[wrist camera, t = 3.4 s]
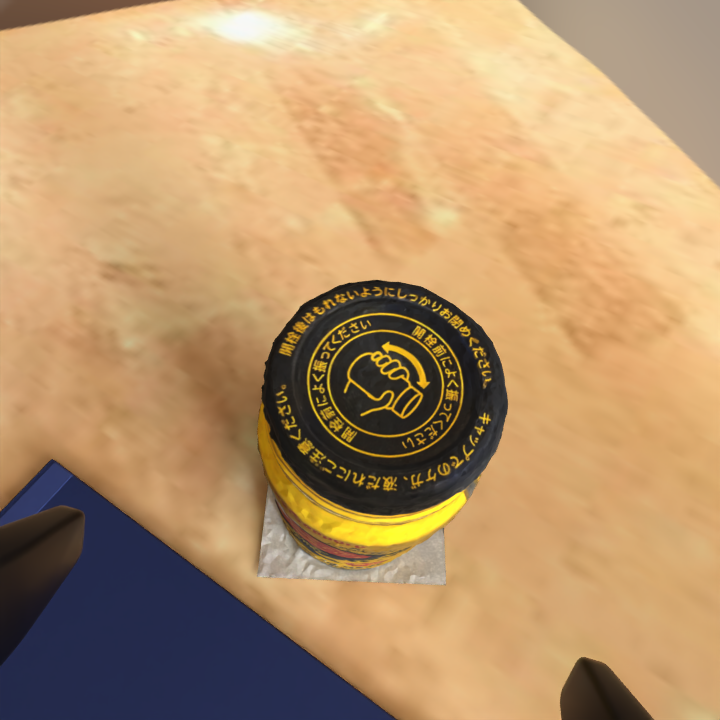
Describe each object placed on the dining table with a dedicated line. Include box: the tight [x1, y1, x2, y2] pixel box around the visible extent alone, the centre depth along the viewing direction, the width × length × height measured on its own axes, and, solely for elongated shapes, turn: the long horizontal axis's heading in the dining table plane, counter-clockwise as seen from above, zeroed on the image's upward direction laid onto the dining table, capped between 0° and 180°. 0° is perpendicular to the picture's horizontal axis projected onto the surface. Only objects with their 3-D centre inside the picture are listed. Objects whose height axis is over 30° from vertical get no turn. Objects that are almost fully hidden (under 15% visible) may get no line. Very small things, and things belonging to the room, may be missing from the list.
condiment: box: [257, 280, 508, 585], centre depth 16 cm, size 7×8×12 cm
